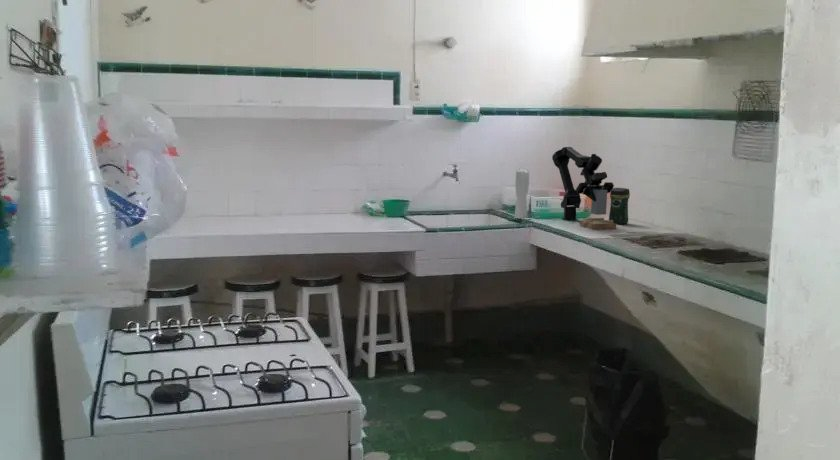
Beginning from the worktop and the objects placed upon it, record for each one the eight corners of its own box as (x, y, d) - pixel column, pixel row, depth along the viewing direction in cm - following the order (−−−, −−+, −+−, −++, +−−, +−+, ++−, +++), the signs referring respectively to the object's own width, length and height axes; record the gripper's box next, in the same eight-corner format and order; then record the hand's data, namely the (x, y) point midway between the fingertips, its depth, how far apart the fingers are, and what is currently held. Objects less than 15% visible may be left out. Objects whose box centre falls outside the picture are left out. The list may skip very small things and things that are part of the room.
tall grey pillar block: (590, 213, 382) (592, 189, 380) (600, 213, 384) (601, 189, 382) (596, 214, 377) (597, 190, 375) (605, 214, 379) (607, 190, 377)
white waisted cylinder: (525, 221, 400) (527, 167, 396) (511, 219, 404) (513, 167, 400) (531, 219, 407) (533, 167, 403) (517, 218, 411) (519, 166, 407)
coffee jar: (630, 223, 397) (632, 188, 394) (623, 225, 391) (625, 189, 388) (613, 221, 403) (615, 186, 400) (606, 223, 397) (608, 187, 394)
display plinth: (580, 225, 386) (580, 217, 386) (600, 224, 390) (601, 217, 389) (594, 229, 373) (595, 221, 372) (616, 229, 377) (616, 221, 376)
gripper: (580, 166, 378) (590, 191, 369) (613, 166, 383) (624, 190, 375) (571, 180, 386) (581, 205, 378) (603, 180, 392) (614, 204, 383)
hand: (600, 201), depth 378 cm, fingers closed on tall grey pillar block, 5 cm apart
